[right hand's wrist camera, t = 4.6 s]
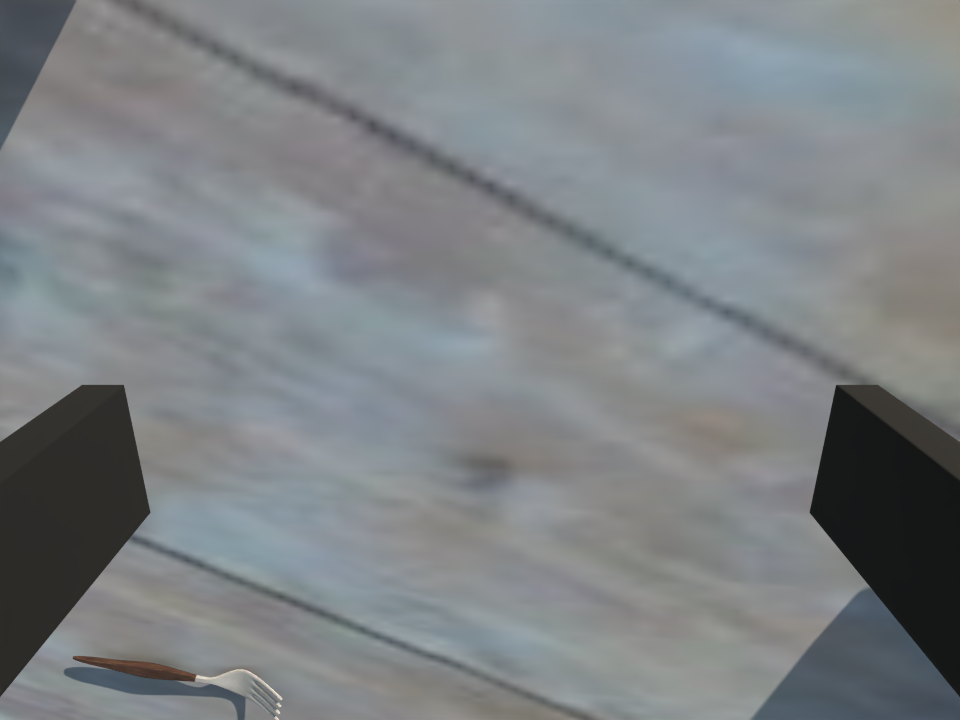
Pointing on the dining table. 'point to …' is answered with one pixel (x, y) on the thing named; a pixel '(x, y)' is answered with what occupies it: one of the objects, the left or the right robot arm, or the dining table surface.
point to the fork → (192, 678)
